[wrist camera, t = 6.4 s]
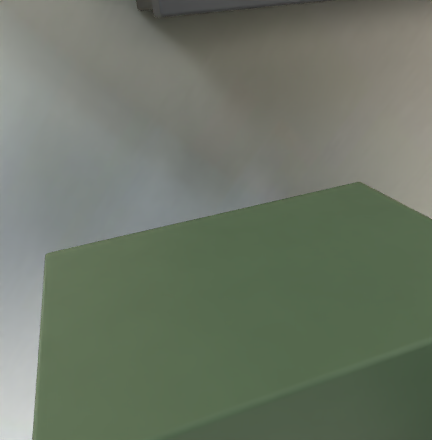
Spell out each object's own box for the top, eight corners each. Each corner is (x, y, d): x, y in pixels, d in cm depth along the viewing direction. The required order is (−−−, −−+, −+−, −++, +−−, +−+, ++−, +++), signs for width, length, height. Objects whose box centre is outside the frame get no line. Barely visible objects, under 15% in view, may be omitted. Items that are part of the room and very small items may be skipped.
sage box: (345, 381, 11) (478, 548, 7) (112, 466, 9) (143, 725, 6) (359, 180, 8) (572, 289, 5) (44, 251, 7) (26, 486, 3)
